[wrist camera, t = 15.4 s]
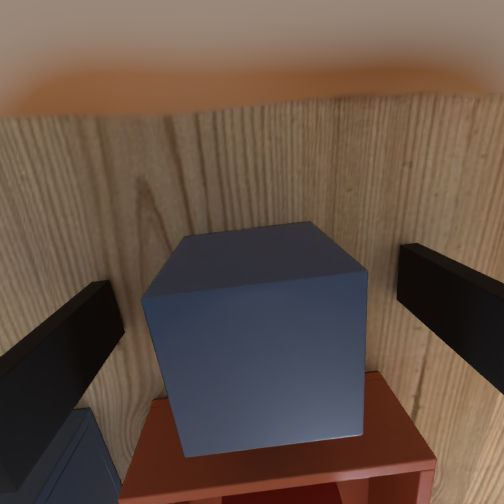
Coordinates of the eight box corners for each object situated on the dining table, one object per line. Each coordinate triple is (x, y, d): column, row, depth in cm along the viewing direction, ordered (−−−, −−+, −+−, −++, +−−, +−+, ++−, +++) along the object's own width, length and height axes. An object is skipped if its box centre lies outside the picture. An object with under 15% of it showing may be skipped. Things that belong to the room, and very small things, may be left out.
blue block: (183, 236, 12) (139, 298, 6) (310, 220, 12) (369, 270, 6) (205, 342, 13) (184, 458, 8) (315, 328, 13) (364, 436, 8)
